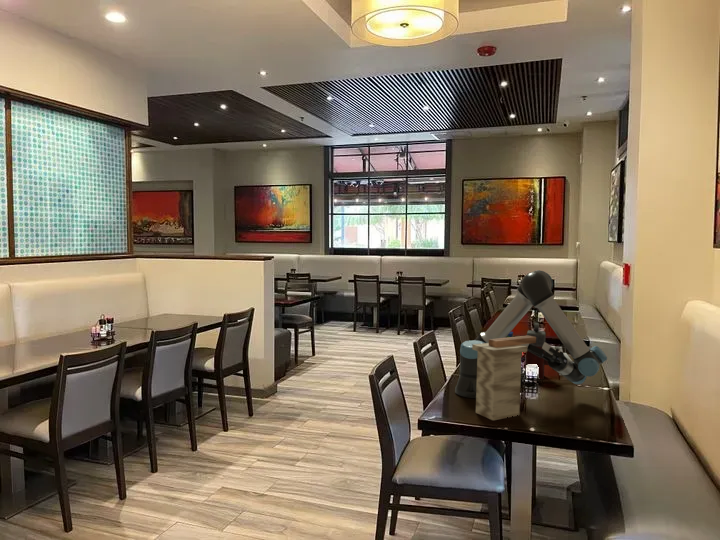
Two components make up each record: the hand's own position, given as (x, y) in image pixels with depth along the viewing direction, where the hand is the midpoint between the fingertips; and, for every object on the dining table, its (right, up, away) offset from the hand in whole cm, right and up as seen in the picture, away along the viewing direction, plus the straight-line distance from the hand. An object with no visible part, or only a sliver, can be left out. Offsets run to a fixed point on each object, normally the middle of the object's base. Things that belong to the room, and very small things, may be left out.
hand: (530, 342), depth 213 cm
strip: (-9, 0, -4) cm, 9 cm away
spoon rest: (+43, -25, +76) cm, 91 cm away
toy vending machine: (+21, -26, +52) cm, 62 cm away
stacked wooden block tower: (-15, -28, -5) cm, 33 cm away
